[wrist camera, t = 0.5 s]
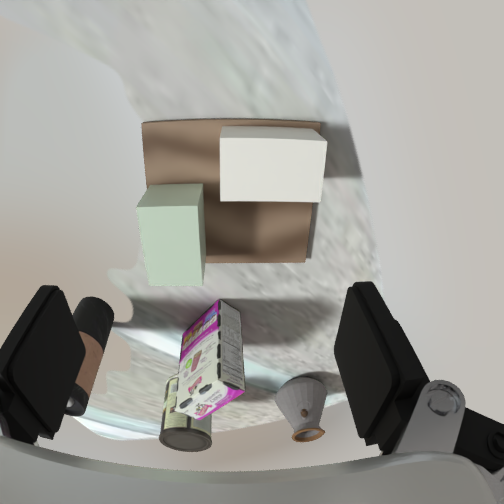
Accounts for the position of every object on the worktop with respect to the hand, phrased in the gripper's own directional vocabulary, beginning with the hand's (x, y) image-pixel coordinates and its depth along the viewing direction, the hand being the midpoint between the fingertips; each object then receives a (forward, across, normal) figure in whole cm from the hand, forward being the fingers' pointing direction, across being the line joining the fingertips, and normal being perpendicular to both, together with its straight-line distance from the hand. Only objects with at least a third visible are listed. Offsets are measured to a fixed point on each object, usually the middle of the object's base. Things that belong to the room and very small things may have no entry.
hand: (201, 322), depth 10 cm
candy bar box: (+35, +3, +31) cm, 47 cm away
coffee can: (+35, +10, +51) cm, 63 cm away
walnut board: (+34, -1, +8) cm, 34 cm away
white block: (+32, -5, +2) cm, 33 cm away
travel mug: (+35, +24, +29) cm, 51 cm away
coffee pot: (+35, -14, +48) cm, 61 cm away
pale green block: (+33, +6, +12) cm, 35 cm away
